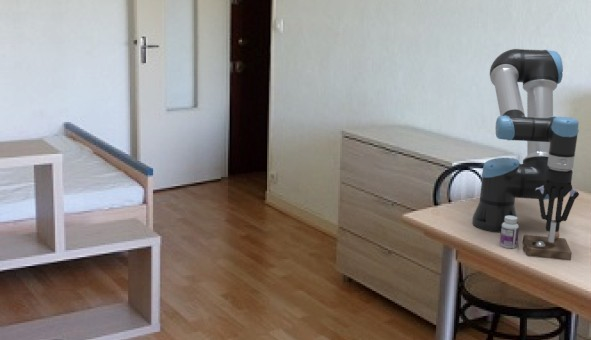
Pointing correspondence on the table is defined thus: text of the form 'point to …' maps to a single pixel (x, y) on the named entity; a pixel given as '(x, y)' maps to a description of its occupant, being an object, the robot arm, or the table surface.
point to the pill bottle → (509, 232)
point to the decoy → (556, 235)
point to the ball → (540, 244)
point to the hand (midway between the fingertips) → (550, 240)
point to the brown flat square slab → (546, 247)
